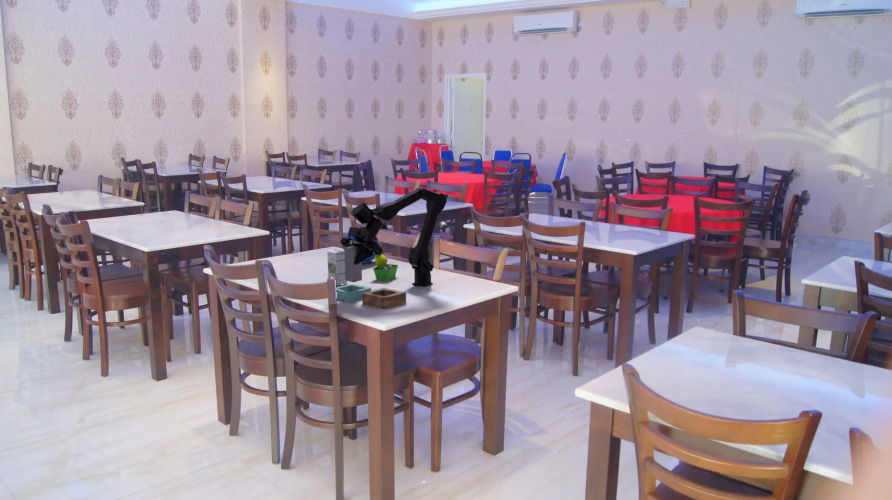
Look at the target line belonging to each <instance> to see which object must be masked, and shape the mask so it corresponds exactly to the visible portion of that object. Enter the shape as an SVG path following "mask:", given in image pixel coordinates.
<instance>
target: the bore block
mask: <svg viewBox="0 0 892 500" xmlns="http://www.w3.org/2000/svg"><path fill="white" fill-rule="evenodd" d="M362 297H363V299H362V304H363V305H366V306H371V307H375V308H380V309H383V310H386V309H389V308H392V307H396V306H399V305H403V304H406V303H407V292H406V291H402V290H397V289H391V288H387V287H381V288H379V289H374V290H371V291H370V292H366V293H362Z"/></svg>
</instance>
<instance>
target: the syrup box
mask: <svg viewBox="0 0 892 500" xmlns="http://www.w3.org/2000/svg"><path fill="white" fill-rule="evenodd" d="M326 252H327V269H328V270H327V272H328V273H327V277H328V279H329V278H331V277H333V278H335V280H336V285H341V284H345V285H348V281H345V251H344V250H343V249H337V248H335V249H328V250H327V251H326ZM341 286H342V285H341Z"/></svg>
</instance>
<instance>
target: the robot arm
mask: <svg viewBox="0 0 892 500" xmlns="http://www.w3.org/2000/svg"><path fill="white" fill-rule="evenodd" d="M420 200H422V201H423V200H424V201H425V202H426V203H425V206H426V215H425V217H424V221H423V224H422V227H421V230H420V234H419V237H418V240H417V244H416V245H415V246H414V247H409V248H410V249H409V253H408V254H407V257H408V259H407V260H408V263H409V265H410V266H411V268H412V269H413V272H414V275H413V276H414V282H412V283H411V284H412V286H418V287H426V286H431V285H433V284H434V283H433V282H432V274H431V272H433V269H434V265H433V264H432V263H431V262H430V260H429V257H430V252H429V246H430V243H431V240H432V237H433V232H434V230H435V226H436V224H437V220H438V218H439V215H440V214H441V213H442V212H443V211H444V209H445V207H446V205H447V201H448V198H447V196H446V194H444V193H440V192H435V191H431V190H428V189H426V188H424V187H417V188H415V189H414V190H412V191H410V192H408V193H406V194H404V195H403V196H400V197H399V198H397V199H395V200H393V201H389V202H384V203H382V204H378V205H377V206H376V207H375V208H372V209H371V208H370V207H369V206H368V204H367V203H366V202H365V201H363V202H362V201H361V202H360V204H357V205H356V206H355V207H354V208H352V210H351V213H350V214H351V215H352V217H353V218H354V219H355V220H357V221H358V222H359V223H360V224H361V225H364V226H361V227H357V226H356V227H355V226H349V228H348V232H347V234H348V235H351V236H353V237H354V240H356V242H354V241H353V240H352V239H351V238H348V237H346V236H344V237H342V238H341V240H339V242H340V243H341V245H342V247H343V246H344V247H350V246H357V247H361V251H360V253H359V255H358V256H357V258H356V260H355V262H354V264H355V265H357V264H359V263H360V262H362V261H364V260H365V259H367V258H369V257H371V256H374V254H373V253H374V251H375V255H380V256H381V254H382V255H383V252H384V251H383V247H382V246H381V245H379V244H378V242H375V241H376V240H377V238H376V236H377V235H378V234H379V232H380V231H382V230H387V225H386V222H383V221H391V220H392V219H394V218H395V217H396V216H397V215H398V214H399V212H400V211H402V210H403V209H405V208H407V207H409V206H411V205H412V204H414V203H416V202H418V201H420ZM382 220H383V221H382ZM377 237H378V236H377ZM374 240H375V241H374Z"/></svg>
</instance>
